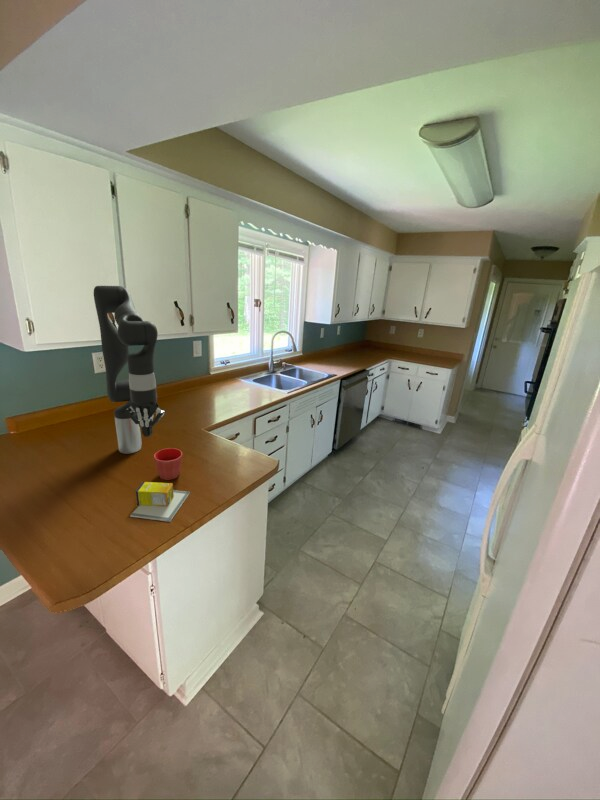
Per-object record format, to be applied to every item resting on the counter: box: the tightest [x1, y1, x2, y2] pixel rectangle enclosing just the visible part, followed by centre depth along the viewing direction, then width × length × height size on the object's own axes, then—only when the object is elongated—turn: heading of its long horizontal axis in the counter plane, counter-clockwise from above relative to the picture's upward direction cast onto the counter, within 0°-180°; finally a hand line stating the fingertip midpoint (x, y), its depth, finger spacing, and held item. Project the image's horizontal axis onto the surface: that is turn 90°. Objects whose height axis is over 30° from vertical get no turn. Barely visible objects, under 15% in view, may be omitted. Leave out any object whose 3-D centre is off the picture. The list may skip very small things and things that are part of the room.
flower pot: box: [153, 447, 183, 481], centre depth 129 cm, size 11×11×10 cm
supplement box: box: [135, 481, 174, 506], centre depth 114 cm, size 6×6×11 cm
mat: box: [130, 489, 191, 523], centre depth 114 cm, size 16×14×1 cm
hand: (147, 435), depth 105 cm, fingers closed
